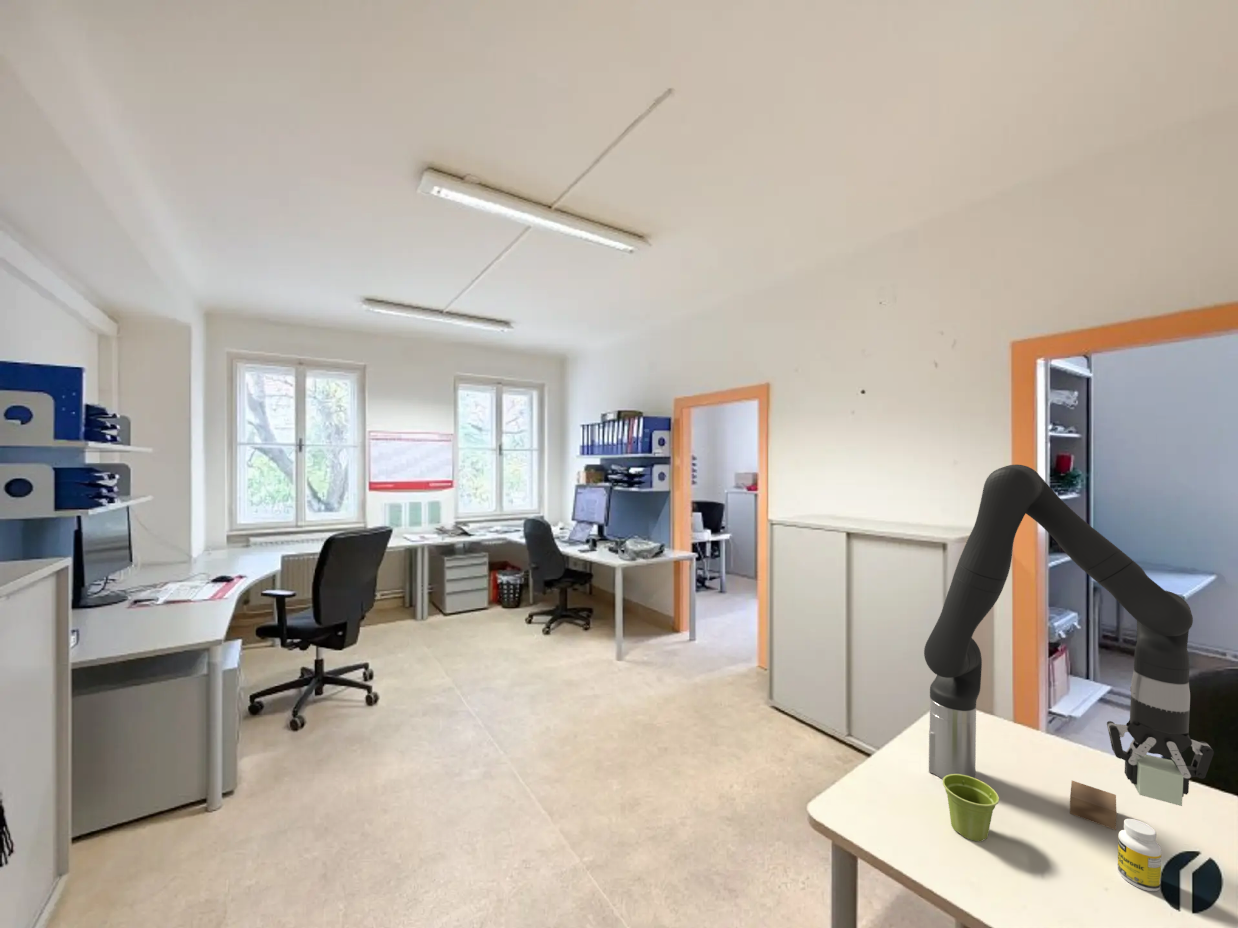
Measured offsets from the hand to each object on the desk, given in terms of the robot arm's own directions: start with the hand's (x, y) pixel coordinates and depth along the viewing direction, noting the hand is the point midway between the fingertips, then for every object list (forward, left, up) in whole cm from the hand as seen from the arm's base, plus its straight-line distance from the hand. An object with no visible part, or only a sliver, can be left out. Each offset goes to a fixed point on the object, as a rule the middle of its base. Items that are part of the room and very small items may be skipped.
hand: (1155, 787), depth 95 cm
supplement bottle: (-4, -8, -14) cm, 17 cm away
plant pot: (-29, -10, -14) cm, 34 cm away
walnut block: (-7, +10, -14) cm, 18 cm away
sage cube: (0, 0, -1) cm, 1 cm away
